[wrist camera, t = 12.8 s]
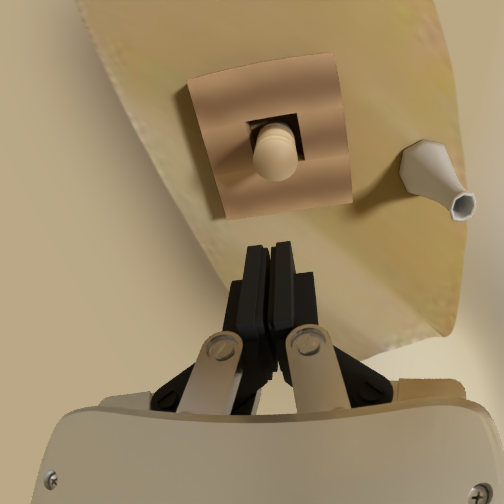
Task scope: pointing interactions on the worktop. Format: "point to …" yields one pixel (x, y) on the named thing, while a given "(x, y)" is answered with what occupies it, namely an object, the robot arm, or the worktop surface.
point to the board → (269, 105)
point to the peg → (275, 151)
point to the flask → (435, 178)
